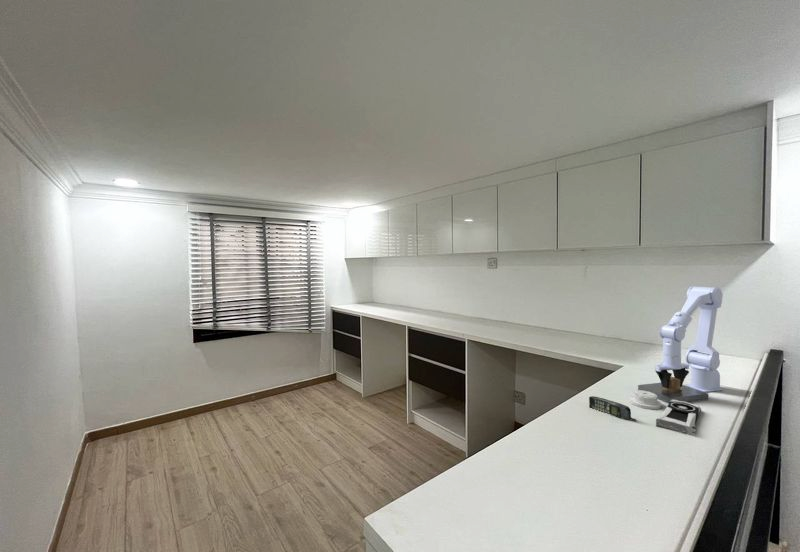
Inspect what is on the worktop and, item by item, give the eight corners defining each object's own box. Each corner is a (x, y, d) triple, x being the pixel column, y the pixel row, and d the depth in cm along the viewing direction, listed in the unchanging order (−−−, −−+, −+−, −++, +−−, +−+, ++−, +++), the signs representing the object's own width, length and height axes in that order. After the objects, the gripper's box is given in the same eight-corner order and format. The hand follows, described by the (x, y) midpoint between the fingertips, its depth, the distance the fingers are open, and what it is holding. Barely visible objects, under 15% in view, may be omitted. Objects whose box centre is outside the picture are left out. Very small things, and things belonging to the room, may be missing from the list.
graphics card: (655, 418, 110) (670, 396, 126) (656, 428, 110) (670, 405, 126) (695, 429, 102) (705, 404, 119) (695, 439, 102) (705, 413, 119)
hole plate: (673, 386, 143) (673, 381, 143) (708, 399, 129) (708, 393, 129) (638, 390, 140) (638, 385, 140) (670, 404, 126) (670, 398, 126)
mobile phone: (587, 396, 125) (633, 408, 113) (591, 394, 127) (636, 406, 114) (588, 409, 125) (633, 423, 113) (592, 407, 127) (637, 420, 114)
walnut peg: (670, 392, 137) (670, 376, 137) (679, 396, 133) (680, 379, 133) (662, 393, 136) (662, 377, 136) (671, 397, 132) (671, 380, 132)
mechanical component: (637, 409, 123) (667, 411, 121) (637, 398, 123) (667, 399, 121) (624, 398, 133) (652, 399, 131) (624, 388, 133) (652, 389, 131)
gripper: (676, 350, 139) (676, 382, 139) (648, 353, 136) (648, 385, 137) (694, 355, 132) (694, 388, 132) (664, 358, 130) (664, 391, 130)
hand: (671, 387), depth 134 cm, fingers open, 6 cm apart
